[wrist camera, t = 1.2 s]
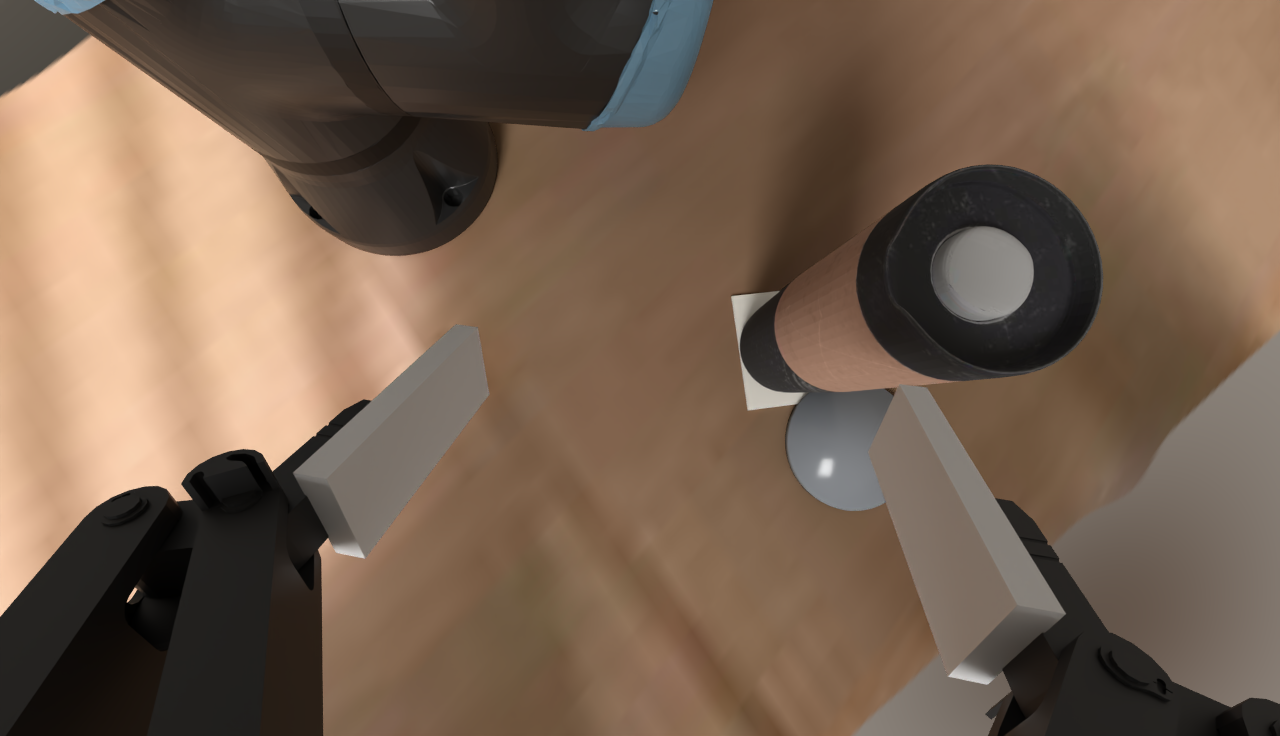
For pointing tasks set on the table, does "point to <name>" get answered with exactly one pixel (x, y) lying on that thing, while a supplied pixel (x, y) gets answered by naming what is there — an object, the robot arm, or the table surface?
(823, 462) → the slate coaster
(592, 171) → the table surface
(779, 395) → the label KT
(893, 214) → the travel mug
